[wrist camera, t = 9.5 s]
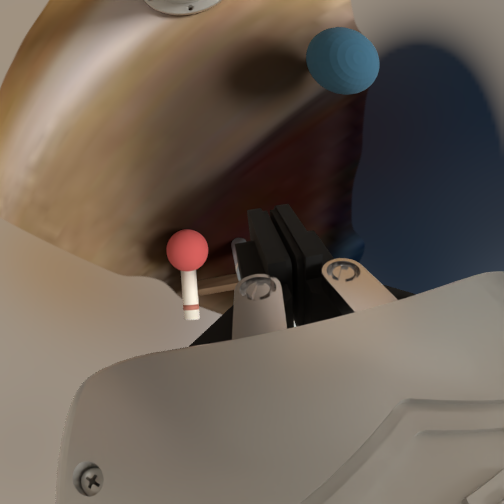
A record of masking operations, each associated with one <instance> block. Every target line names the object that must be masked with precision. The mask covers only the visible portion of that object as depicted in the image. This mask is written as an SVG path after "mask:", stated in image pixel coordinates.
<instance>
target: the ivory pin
mask: <svg viewBox="0 0 504 504" xmlns="http://www.w3.org/2000/svg"><path fill="white" fill-rule="evenodd" d="M181 283H182V296H183V309H184V319H185V320H197V319H200V314H199V303H198V290H197V277H196V270H193V271H181Z"/></svg>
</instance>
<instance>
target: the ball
mask: <svg viewBox="0 0 504 504" xmlns="http://www.w3.org/2000/svg"><path fill="white" fill-rule="evenodd" d="M207 255H208V245H207V242H206V240H205V238H204V237H203V236H202V235H201V234H200V233H198V232H197V231H194V230H190V229H185V230H180V231H178V232H176V233H175V234H174V235H173V236H172V237H171V238H170V240H169V241H168V244H167V257H168V259H169V261H170V263H171V264H172V265H173V266H174V267H175V268H177V269H179V270H181V271H193V270H196V269H198V268H199V267H201V266H202V265H203V264H204V262H205V261H206V258H207Z"/></svg>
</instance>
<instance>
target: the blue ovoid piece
mask: <svg viewBox="0 0 504 504" xmlns="http://www.w3.org/2000/svg"><path fill="white" fill-rule="evenodd" d="M306 62H307V66H308V69H309V72H310V73H311V75H312V77H313V78H314V79H315V80H316V81H317V82H318V83H319V84H320V85H321V86H322V87H324V88H325V89H327V90H329V91H332V92H335V93H338V94H355V93H359V92H361V91H363V90H365V89H367V88H368V87H369V86H370V85H371V84H372V83H373V82H374V80H375V79H376V76H377V74H378V71H379V57H378V54H377V51H376V49H375V48H374V46H373V44H372V43H371V42H370V41H369V40H368V39H367V38H366V37H365V36H364V35H362V34H361V33H359V32H357V31H355V30H352V29H348V28H343V27H336V28H329V29H326V30H324V31H322V32H320V33H319V34H317V35H316V36H315V37H314V38H313V39H312V40H311V42H310V44H309V46H308V49H307V53H306Z"/></svg>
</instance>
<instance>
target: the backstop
mask: <svg viewBox="0 0 504 504" xmlns="http://www.w3.org/2000/svg"><path fill="white" fill-rule="evenodd" d="M238 282H239V280H238V277H237V274H232V275H226V276H221V277H215V278H209V279H204V280H198V281H197V290H198V296H200V295H206V294H212V293H218V292H223V291H229V290H235V287H236V285H237V283H238Z"/></svg>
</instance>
